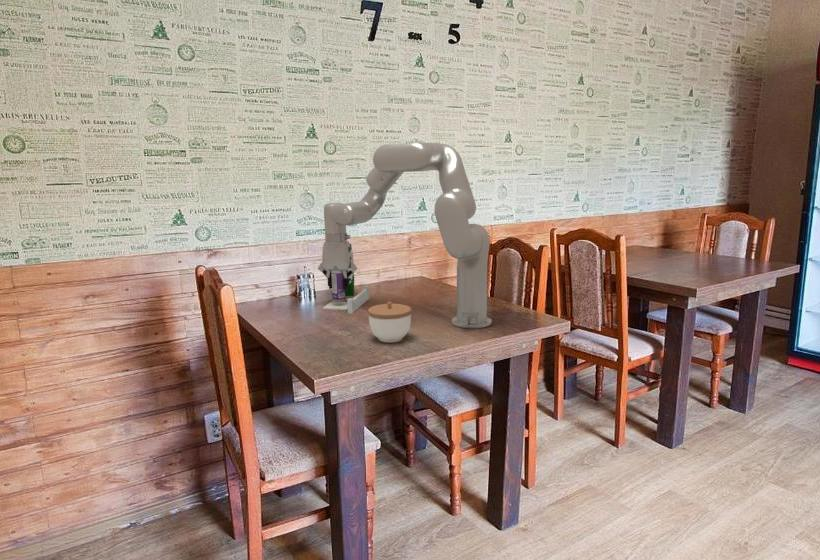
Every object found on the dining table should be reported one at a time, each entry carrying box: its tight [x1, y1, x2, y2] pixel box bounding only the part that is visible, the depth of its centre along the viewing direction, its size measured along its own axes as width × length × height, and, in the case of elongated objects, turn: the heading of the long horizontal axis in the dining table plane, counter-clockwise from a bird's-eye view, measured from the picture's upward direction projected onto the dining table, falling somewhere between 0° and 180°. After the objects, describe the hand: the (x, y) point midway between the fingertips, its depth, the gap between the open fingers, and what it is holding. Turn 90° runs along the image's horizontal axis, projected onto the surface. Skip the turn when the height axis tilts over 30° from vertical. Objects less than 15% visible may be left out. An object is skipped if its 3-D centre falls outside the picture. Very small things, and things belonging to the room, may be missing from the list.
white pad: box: [322, 300, 348, 311], centre depth 200 cm, size 9×9×1 cm
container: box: [331, 266, 346, 302], centre depth 198 cm, size 5×5×15 cm
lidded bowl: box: [367, 301, 412, 344], centre depth 161 cm, size 13×13×11 cm
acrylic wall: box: [346, 285, 370, 315], centre depth 200 cm, size 22×2×5 cm, turn 168°
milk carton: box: [345, 243, 355, 297], centre depth 217 cm, size 9×9×20 cm
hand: (338, 287), depth 199 cm, fingers closed on container, 4 cm apart
